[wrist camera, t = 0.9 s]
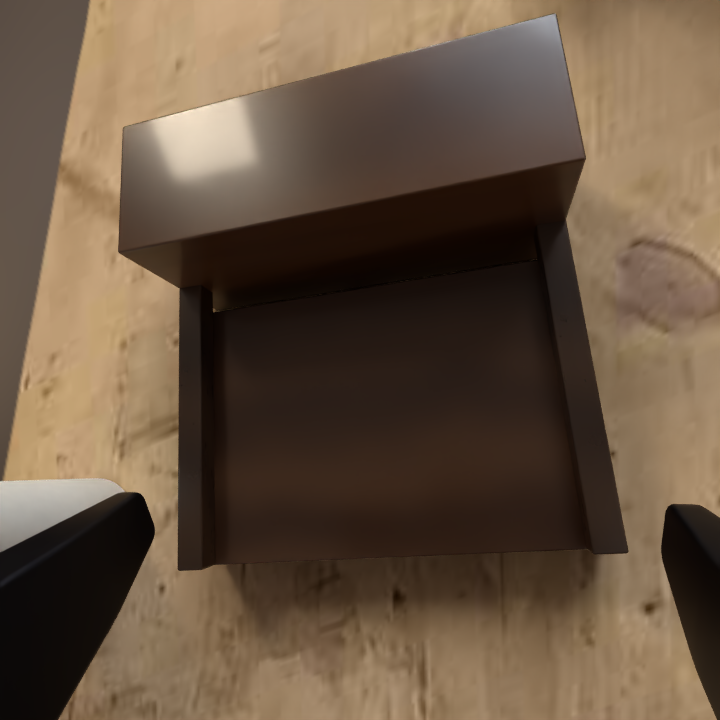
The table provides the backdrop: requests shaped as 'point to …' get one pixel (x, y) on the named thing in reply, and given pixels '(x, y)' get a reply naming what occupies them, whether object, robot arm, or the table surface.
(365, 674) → the table surface
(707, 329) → the table surface
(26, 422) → the table surface
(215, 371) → the step shelf
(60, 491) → the glue bottle
